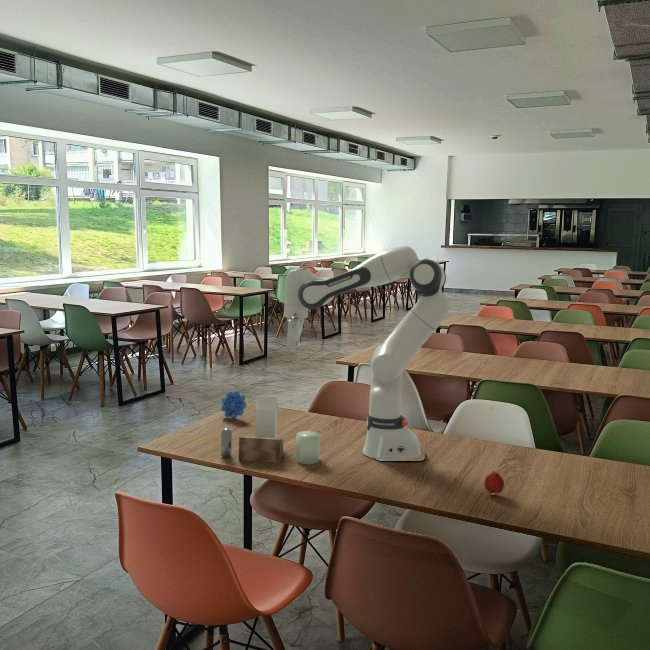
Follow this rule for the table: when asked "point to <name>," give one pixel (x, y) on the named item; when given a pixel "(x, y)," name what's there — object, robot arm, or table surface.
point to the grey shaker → (226, 443)
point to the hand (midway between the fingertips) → (294, 349)
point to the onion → (494, 483)
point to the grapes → (233, 404)
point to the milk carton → (266, 417)
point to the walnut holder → (260, 449)
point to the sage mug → (307, 447)
